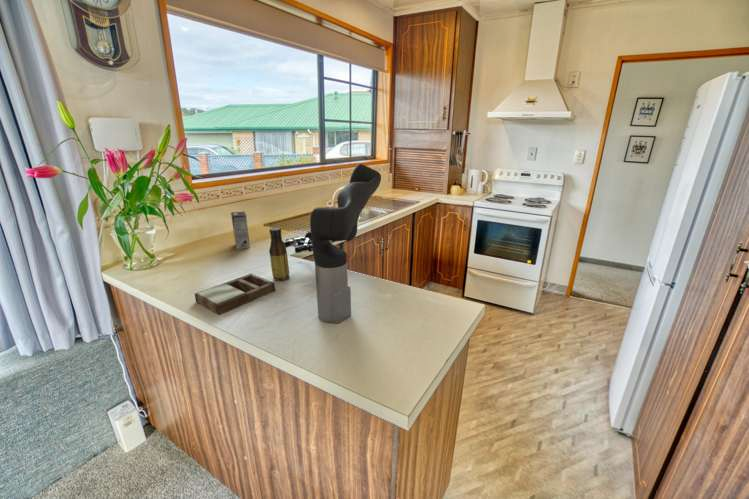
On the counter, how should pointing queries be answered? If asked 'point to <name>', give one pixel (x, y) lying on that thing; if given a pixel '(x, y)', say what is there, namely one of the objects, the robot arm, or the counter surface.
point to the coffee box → (240, 230)
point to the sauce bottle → (278, 256)
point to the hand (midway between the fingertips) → (288, 248)
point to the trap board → (234, 293)
